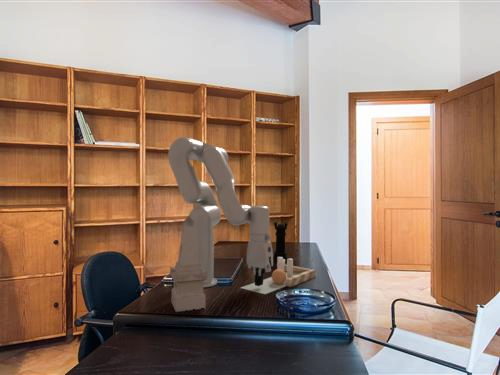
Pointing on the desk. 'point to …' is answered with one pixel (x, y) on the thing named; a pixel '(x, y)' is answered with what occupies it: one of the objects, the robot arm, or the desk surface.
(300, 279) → the backstop
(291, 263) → the pin
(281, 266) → the pin front
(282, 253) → the chess piece
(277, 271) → the ball
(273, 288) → the lane
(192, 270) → the miniature monument
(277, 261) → the pin
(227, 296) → the desk surface
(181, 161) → the robot arm
